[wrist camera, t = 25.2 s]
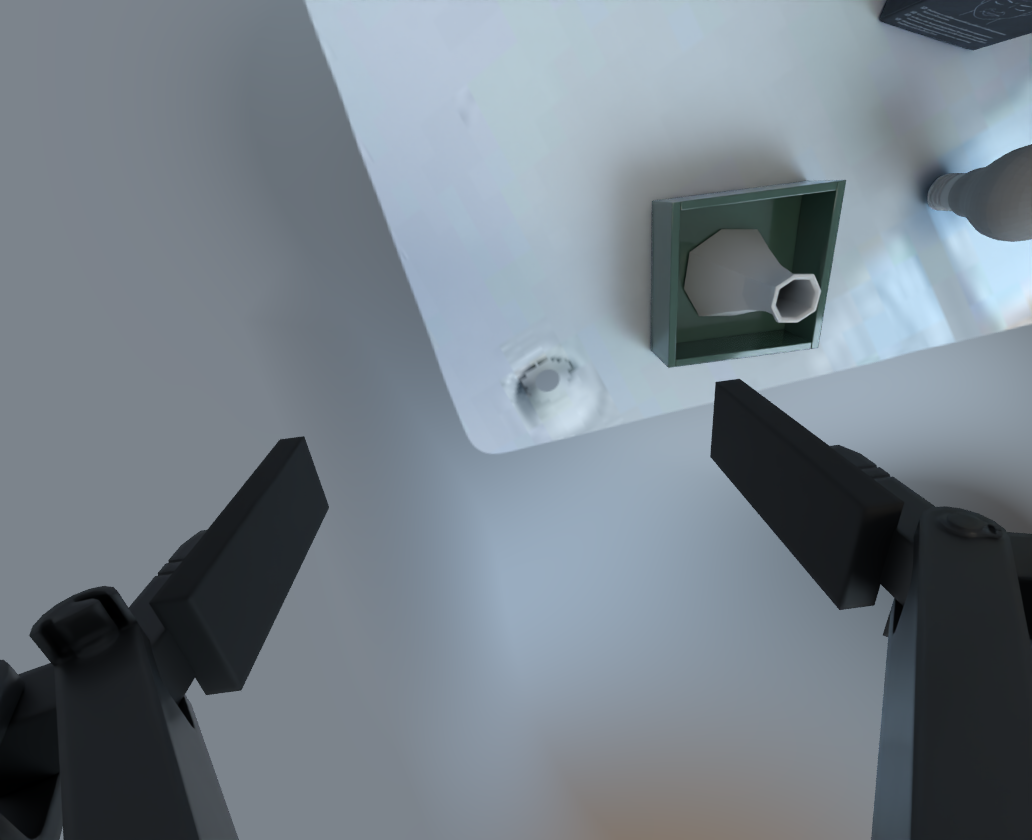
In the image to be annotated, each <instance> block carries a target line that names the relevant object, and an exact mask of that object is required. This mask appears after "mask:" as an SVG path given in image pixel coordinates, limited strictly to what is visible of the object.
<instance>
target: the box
mask: <svg viewBox="0 0 1032 840" xmlns="http://www.w3.org/2000/svg"><path fill="white" fill-rule="evenodd" d="M880 20H881V21H883V22H885V23H888V24H891V25H894V26H898V27H901V28H904V29H907V30H910V31H913V32H916V33H920V34H923V35H926V36H929V37H932V38H935V39H938V40H942V41H945V42H948V43H951V44H954V45H958V46H961V47H964V48H967V49H971V50H976V49H979V48H982V47H985V46H989V45H992V44H996V43H999V42H1002V41H1006V40H1009V39H1012V38H1016V37H1019V36H1022V35H1026V34H1029V33H1032V0H887V2H886V5H885V8H884V10H883V12H882V15H881V17H880Z"/></svg>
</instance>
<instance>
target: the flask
mask: <svg viewBox="0 0 1032 840" xmlns="http://www.w3.org/2000/svg"><path fill="white" fill-rule="evenodd" d="M684 290H685V291H686V293H687V295H688V297H689V299H690V300H691V302H692V304H693V306H694V307H695V309H696V311H697V313H698V315H699V316H735V315H740V314H744V313H748V312H754V311H766V312H768V313H771V314H773V316H774V318H775V320H776V322H779V323H793V322H799V321H801V320H802V319H804V318H805V317H807V316H808V315H810V314H811V313H813V312H815V311H816V308H817V304H818V301H819V297H820V294H821V289H820V287H819V285H818V282H817V280H816V278H815V275H814V274H792V273H791V272H790V271H788V270H787V269H785V268H784V267H783V266H781V265H780V263H779V262H778V261H777V259H776V258H775V256H774V255H773V253H772V252H771V251H770V249H769V248H768V246H767V244H766V243H765V241H764V239H763V238H762V236H761V234H760V233H759V231H758V230H757V229H721V230H720V231H719V232H717V233H716V234H714V235H713V236H711V237H710V238H709V239H707V240H706V241H704V242H703V243H702V244H700V245H699V246H697V247H696V248H695V249H693V250H692V251H690V253H689V260H688V266H687V272H686V278H685V285H684Z"/></svg>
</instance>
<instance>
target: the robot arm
mask: <svg viewBox="0 0 1032 840" xmlns="http://www.w3.org/2000/svg"><path fill="white" fill-rule="evenodd" d="M711 458H712V459H713V460H714V462H716V464H717V465H718V466H719V468H720V469H721V470H722V471H723V472H724V473H725V475H726V476H727V477H728V478H729V479H730V481H731V482H732V483H733V484H734V485H735V487H736V488H737V489H738V490H739V491H740V492H741V493H742V495H743V496H744V497H745V498H746V500H747V501H748V502H749V503H750V504H751V505H752V507H753V508H754V509H755V510H756V511H757V512H758V514H759V515H760V516H761V517H762V518H763V520H764V521H765V522H766V523H767V524H768V525H769V527H770V528H771V529H772V530H773V532H774V533H775V534H776V535H777V536H778V537H779V539H780V540H781V541H782V542H783V543H784V545H785V546H786V547H787V548H788V549H789V551H790V552H791V553H792V554H793V555H794V557H796V559H797V560H798V561H799V562H800V564H801V565H802V566H803V567H804V568H805V570H806V571H807V572H808V573H809V574H810V576H811V577H812V578H813V579H814V580H815V581H816V583H817V584H818V585H819V586H820V587H821V589H822V590H823V591H824V592H825V593H826V594H827V596H828V597H829V598H830V599H831V600H832V602H833V603H834V604H835V605H836V606H837V608H838V609H839V610H843V609H851V608H858V607H865V606H873V605H875V601H876V598H877V594H878V591H879V587H880V584H881V585H882V586H883V587H884V588H885V589H886V590H887V591H888V592H889V593H890V594H891V595H892V596H893V597H894V601H893V604H892V607H891V611H890V614H889V617H888V620H887V623H886V627H885V630H884V633H883V635H884V636H886V637H888V649H887V660H886V672H885V684H884V695H883V696H884V697H883V707H882V720H881V732H880V743H879V754H878V766H877V778H876V790H875V802H874V814H873V826H872V837H871V840H1032V534H1025V533H1011V532H1006V530H1005V529H1004V528H1003V527H1001V526H1000V525H998V524H997V523H996V522H995V521H993V520H991V519H988V518H986V517H984V516H982V515H980V514H978V513H974V512H971V511H968V510H964V509H960V508H952V507H935V506H934V505H932V504H931V503H930V502H928V501H927V500H925V499H924V498H922V497H921V496H920V495H918V494H917V493H915V492H914V491H913V490H911V489H910V488H908V487H907V486H905V485H904V484H903V483H901V482H900V481H898V480H897V479H895V478H894V477H890V475H889V474H888V473H887V472H885V471H884V470H883V469H881V468H880V467H878V468H877V466H876V465H875V464H874V463H873V462H871V461H870V460H869V459H867V458H866V457H864V456H863V455H862V454H860V453H857V452H855V451H853V450H850V449H847V448H845V447H843V446H840V445H834V446H829V445H827V444H826V443H825V442H823V441H822V440H821V439H819V438H818V437H817V436H815V435H814V434H813V433H811V432H810V431H808V430H807V429H806V428H805V427H803V426H802V425H801V424H799V423H798V422H797V421H795V420H794V419H793V418H791V417H790V416H789V415H787V414H786V413H785V412H783V411H782V410H780V409H779V408H778V407H777V406H775V405H774V404H773V403H771V402H770V401H768V400H767V399H766V398H765V397H763V396H762V395H760V394H759V393H758V392H756V391H755V390H754V389H752V388H751V387H750V386H748V385H747V384H746V383H744V382H743V381H742V380H740V379H736V380H728V381H720V382H716V386H715V400H714V414H713V429H712V442H711ZM328 508H329V506H328V503H327V500H326V497H325V494H324V491H323V489H322V486H321V483H320V480H319V477H318V474H317V472H316V469H315V466H314V463H313V460H312V457H311V455H310V452H309V449H308V446H307V443H306V440H305V437H296V438H288V439H281V440H279V441H278V443H277V444H276V445H275V447H274V448H273V449H272V450H271V451H270V453H269V454H268V455H267V456H266V458H265V459H264V460H263V461H262V463H261V464H260V465H259V466H258V468H257V469H256V470H255V471H254V473H253V474H252V475H251V476H250V478H249V479H248V480H247V481H246V483H245V484H244V485H243V486H242V488H241V489H240V490H239V492H238V493H237V494H236V495H235V496H234V498H233V499H232V500H231V501H230V502H229V504H228V505H227V506H226V508H225V509H224V510H223V511H222V512H221V514H220V515H219V516H218V517H217V519H216V520H215V521H214V522H213V524H212V525H211V526H210V527H209V529H208V530H204V531H200V532H198V533H197V534H196V535H194V536H193V537H192V538H190V539H189V540H188V541H186V542H185V543H184V544H182V545H181V546H180V547H179V549H178V550H177V551H176V552H175V553H174V554H173V556H172V557H171V558H170V559H169V563H167V564H165V565H164V566H163V568H162V569H161V570H160V571H159V572H158V576H155V577H154V578H153V580H152V581H151V582H150V583H149V584H148V585H147V587H146V588H145V589H144V590H143V591H142V593H141V594H140V595H139V596H138V597H137V599H136V600H135V601H134V602H133V603H132V604H131V606H130V607H129V608H128V607H127V605H126V603H125V602H124V600H123V599H122V597H121V596H120V594H119V593H118V592H117V590H116V589H115V588H114V587H107V586H102V587H97V588H92V589H88V590H85V591H83V592H80V593H78V594H76V595H73V596H71V597H69V598H67V599H66V600H64V601H62V602H60V603H59V604H57V605H55V606H54V607H53V608H52V609H50V610H49V611H48V612H46V613H45V614H44V615H42V617H41V618H40V619H39V620H38V621H37V622H36V623H35V624H34V625H33V627H32V630H31V632H30V637H31V638H32V640H33V641H34V642H35V643H36V644H37V646H38V647H39V648H40V649H41V651H42V652H43V653H44V654H45V656H46V657H47V658H48V659H49V661H50V662H51V663H49V664H47V665H44V666H41V667H38V668H35V669H32V670H30V671H27V672H24V673H21V674H19V675H18V674H17V673H16V672H15V670H14V669H13V668H12V667H11V666H10V665H9V664H8V663H7V662H5V661H4V660H0V840H59V839H60V834H61V831H62V827H63V836H64V840H239V839H238V836H237V833H236V831H235V828H234V825H233V822H232V819H231V816H230V813H229V811H228V808H227V805H226V802H225V799H224V796H223V794H222V791H221V788H220V785H219V782H218V779H217V776H216V773H215V771H214V768H213V765H212V762H211V760H210V756H209V753H208V751H207V748H206V745H205V742H204V739H203V736H202V733H201V731H200V728H199V725H198V722H197V719H196V717H195V713H194V711H193V708H192V705H191V703H190V702H189V700H188V699H187V697H186V696H185V693H186V691H187V690H188V688H189V686H190V685H191V683H192V681H193V679H194V678H196V680H197V681H198V683H199V684H200V686H201V688H202V689H203V691H204V692H205V694H206V695H210V694H218V693H225V692H233V691H239V690H242V688H243V686H244V684H245V681H246V679H247V677H248V675H249V673H250V671H251V669H252V667H253V665H254V663H255V661H256V658H257V656H258V654H259V652H260V650H261V648H262V646H263V644H264V642H265V640H266V638H267V636H268V634H269V631H270V629H271V627H272V625H273V623H274V621H275V619H276V617H277V615H278V613H279V611H280V608H281V606H282V604H283V602H284V600H285V598H286V596H287V594H288V592H289V589H290V588H291V586H292V584H293V581H294V579H295V577H296V575H297V573H298V571H299V569H300V567H301V565H302V563H303V561H304V559H305V556H306V554H307V552H308V550H309V548H310V546H311V544H312V542H313V540H314V538H315V536H316V533H317V531H318V529H319V527H320V525H321V523H322V521H323V519H324V517H325V515H326V513H327V511H328Z"/></svg>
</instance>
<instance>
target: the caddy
mask: <svg viewBox="0 0 1032 840" xmlns="http://www.w3.org/2000/svg"><path fill="white" fill-rule="evenodd" d="M845 184H846V180H818V181H801V182H793V183H785V184H778V185H770V186H762V187H755V188H747V189H739V190H732V191H724V192H716V193H709V194H701V195H693V196H685V197H678V198H670V199H662V200H655V201H652V271H651V351H652V352H653V353H654V354H655V355H656V356H657V357H658V358H659V359H660V360H661V361H662V362H663V363H664V364H665V365H666V366H667V367H668V368H669V367H675V366H676V367H677V366H685V365H692V364H700V363H708V362H715V361H723V360H730V359H738V358H746V357H753V356H761V355H768V354H776V353H784V352H791V351H799V350H806V349H814V348H818V345H819V339H820V333H821V327H822V321H823V315H824V309H825V303H826V297H827V291H828V285H829V279H830V273H831V267H832V261H833V255H834V249H835V243H836V237H837V231H838V225H839V219H840V214H841V208H842V202H843V196H844V190H845ZM721 229H757V230H758V231H759V233H760V234H761V236H762V238H763V239H764V241H765V243H766V244H767V246H768V248H769V249H770V251H771V252H772V253H773V255H774V256H775V258H776V259H777V261H778V262H779V263H780V265H781V266H783V267H784V268H785V269H787V270H788V271H790V272H791V273H792V274H814V275H815V278H816V280H817V282H818V285H819V287H820V289H821V294H820V297H819V301H818V304H817V308H816V311H815V312H813V313H811V314H810V315H808V316H807V317H805V318H804V319H802V320H801V321H799V322H793V323H779V322H776V320H775V318H774V316H773V314H771V313H768V312H766V311H754V312H748V313H744V314H740V315H735V316H699V315H698V313H697V311H696V309H695V307H694V306H693V304H692V302H691V300H690V299H689V297H688V295H687V293H686V291H685V290H684V285H685V278H686V272H687V266H688V260H689V253H690V251H692V250H693V249H695V248H696V247H697V246H699V245H700V244H702V243H703V242H704V241H706V240H707V239H709V238H710V237H711V236H713V235H714V234H716V233H717V232H719V231H720V230H721Z"/></svg>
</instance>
